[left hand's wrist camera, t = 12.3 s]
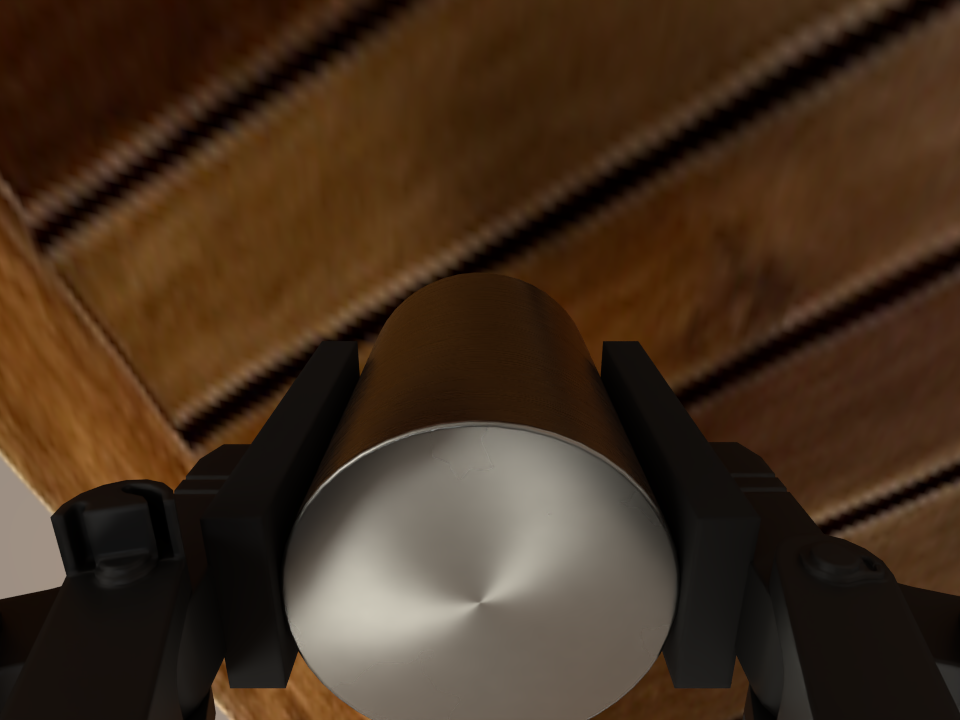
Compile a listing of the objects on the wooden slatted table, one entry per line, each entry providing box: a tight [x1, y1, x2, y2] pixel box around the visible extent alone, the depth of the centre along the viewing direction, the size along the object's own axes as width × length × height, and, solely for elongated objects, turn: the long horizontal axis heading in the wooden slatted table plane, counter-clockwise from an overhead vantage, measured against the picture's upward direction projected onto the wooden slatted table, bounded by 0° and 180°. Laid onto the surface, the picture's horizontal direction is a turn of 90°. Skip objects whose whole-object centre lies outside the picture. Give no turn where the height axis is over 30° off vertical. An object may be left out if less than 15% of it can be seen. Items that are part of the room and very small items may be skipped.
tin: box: [280, 273, 680, 720], centre depth 12 cm, size 5×5×8 cm
